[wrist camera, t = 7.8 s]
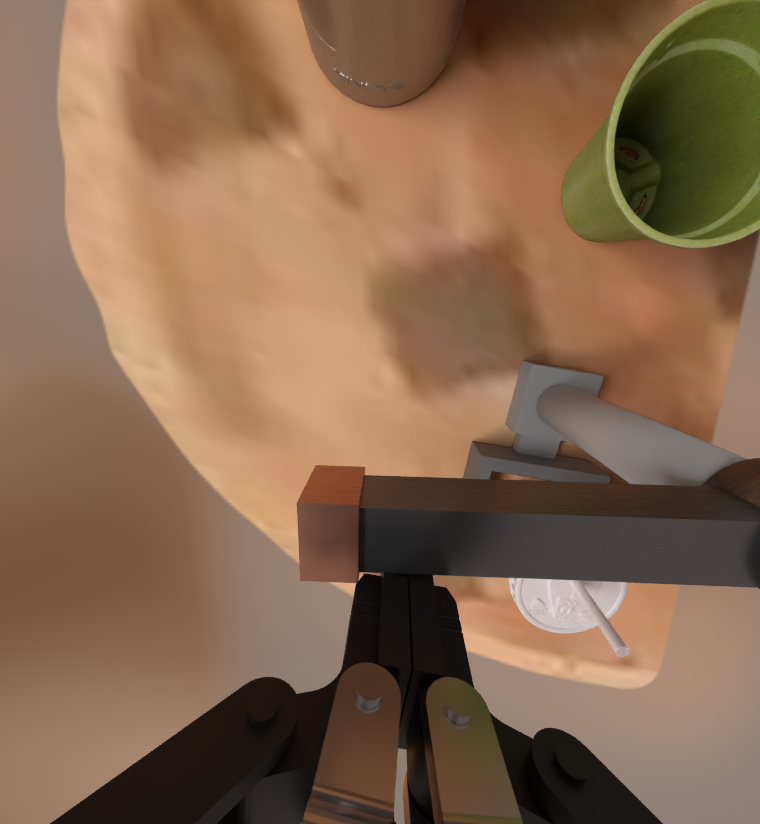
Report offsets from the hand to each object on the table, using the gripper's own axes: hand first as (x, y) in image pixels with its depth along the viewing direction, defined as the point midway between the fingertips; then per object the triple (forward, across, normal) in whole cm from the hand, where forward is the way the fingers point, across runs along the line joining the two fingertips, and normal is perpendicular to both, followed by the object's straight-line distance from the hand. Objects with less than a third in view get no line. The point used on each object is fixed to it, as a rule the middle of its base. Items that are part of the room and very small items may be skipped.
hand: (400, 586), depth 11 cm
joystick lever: (+2, -5, -3) cm, 6 cm away
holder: (+18, -11, +1) cm, 21 cm away
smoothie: (+18, -11, +5) cm, 22 cm away
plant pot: (+18, -11, -18) cm, 28 cm away
